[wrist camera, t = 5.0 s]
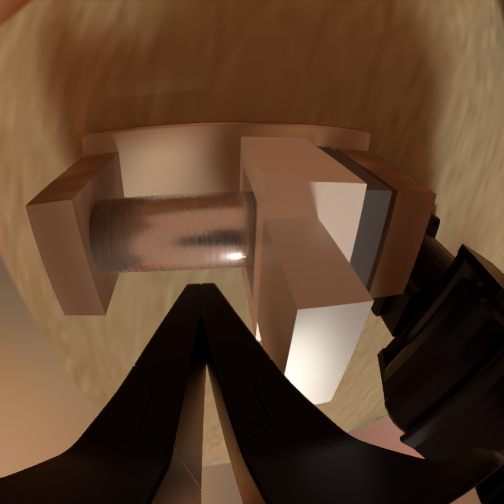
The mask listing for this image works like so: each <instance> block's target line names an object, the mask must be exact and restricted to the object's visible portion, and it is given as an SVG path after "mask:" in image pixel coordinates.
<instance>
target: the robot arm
mask: <svg viewBox="0 0 504 504" xmlns="http://www.w3.org/2000/svg"><path fill="white" fill-rule="evenodd" d="M433 222H434V223H433ZM439 224H440V219H439V218H438V217H437V216H435V215H430V218H429V222H428V225H427V228H426V231H425V235H424V238H423V241H422V244H421V247H420V250H419V252H418V255H417V258H416V261H415V264H414V266H413V269H412V272H411V274H410V277H409V280H408V282H407V285H406V287H405V290H404V292H403V294H399V295H392V296H385V297H378V298H373V300H374V302H373V305H372V307H371V310H372V312H373V313H374V314H375V315H376V316H381V318H382V320H383V321H384V323H385V325H386V326H387V328H388V330H389V331H390V333H391V335H392V336H393V337H394V339H393V340H392V341H391V342H390V343H389V344H388V345H387V347H386V348H383V349H382V350H381V351H380V352H379V353H378V361H379V367H380V373H381V379H382V385H383V392H384V399H385V402H384V403H385V408H386V410H387V412H388V415H389V417H390V418H391V420H392V421H393V423H394V424H395V425H396V426H397V427H398V428H399V429H400V430H402V431H403V432H404V433H405V434H403V435H402V436H400V441H401V442H402V443H404V444H406V445H408V446H410V447H411V448H414V449H415V450H416V451H417V452H418V453H420V454H421V455H422V456H423V457H424V458H425V459H422V458H418V457H414V456H410V455H406V454H402V453H399V452H395V451H392V450H388V449H385V448H382V447H378V446H375V445H372V444H369V443H366V442H363V441H360V440H358V439H356V438H354V437H352V436H351V435H349V434H348V433H346V432H345V431H343V430H342V429H341V428H340V427H338V426H337V425H336V424H335V423H334V422H333V421H332V420H330V419H329V418H328V417H327V416H326V415H325V414H324V413H323V412H322V411H320V410H319V409H318V408H317V407H316V406H315V405H314V404H313V403H312V402H311V401H309V400H308V399H307V398H306V397H305V396H304V395H303V394H302V393H301V392H300V391H299V390H298V389H297V388H296V387H295V386H294V385H293V384H292V383H291V382H290V381H289V379H288V378H287V377H286V376H285V375H284V374H283V372H282V371H281V370H280V369H279V368H278V366H277V365H276V364H275V363H274V361H273V360H272V359H270V356H269V355H268V354H267V352H266V351H265V350H264V349H263V347H262V346H261V345H260V343H259V342H258V341H257V339H256V338H255V337H254V336H253V334H252V333H251V332H250V330H249V329H248V328H247V326H246V325H245V324H244V322H243V321H242V320H241V318H240V317H239V316H238V314H237V313H236V312H235V310H234V309H233V308H232V306H231V305H230V303H229V302H228V301H227V299H226V298H225V297H224V295H223V294H222V293H221V291H220V290H219V288H218V287H217V286H216V284H215V283H202V284H188V285H186V287H185V288H184V290H183V291H182V293H181V294H180V296H179V297H178V299H177V300H176V302H175V303H174V305H173V306H172V308H171V309H170V311H169V312H168V314H167V315H166V317H165V318H164V320H163V321H162V323H161V324H160V326H159V327H158V329H157V330H156V332H155V333H154V335H153V337H152V338H151V340H150V341H149V343H148V344H147V346H146V347H145V349H144V350H143V352H142V354H141V355H140V357H139V358H138V360H137V361H136V363H135V366H133V367H132V369H131V371H130V372H129V374H128V375H127V377H126V378H125V380H124V381H123V383H122V384H121V386H120V387H119V389H118V390H117V392H116V393H115V394H114V396H113V397H112V398H111V399H110V401H109V402H108V403H107V405H106V406H105V407H104V408H103V410H102V411H101V412H100V413H99V415H98V416H97V417H96V418H95V419H94V421H93V422H92V423H91V424H90V426H89V427H88V428H87V429H86V431H85V432H84V433H83V434H82V436H81V437H80V438H79V439H78V440H77V442H76V443H75V444H73V445H72V446H71V447H70V448H69V449H68V450H66V451H65V452H63V453H62V454H60V455H58V456H56V457H53V458H51V459H49V460H46V461H44V462H42V463H39V464H37V465H34V466H32V467H29V468H27V469H24V470H22V471H19V472H16V473H14V474H11V475H8V476H6V477H2V478H0V504H201V478H202V475H201V474H202V443H203V418H204V397H205V379H206V362H207V367H208V372H209V377H210V381H211V385H212V390H213V394H214V398H215V403H216V407H217V411H218V415H219V419H220V423H221V427H222V431H223V435H224V439H225V443H226V446H227V450H228V454H229V457H230V461H231V464H232V468H233V471H234V475H235V478H236V482H237V485H238V487H239V492H240V495H241V498H242V502H243V504H504V274H503V273H502V272H501V271H500V270H499V269H498V268H497V267H496V266H495V265H494V264H493V263H491V262H490V261H488V260H487V259H485V258H484V257H482V256H481V255H479V254H478V253H476V252H475V251H473V250H472V249H470V248H469V247H467V246H466V245H464V244H462V245H461V247H460V248H459V250H458V254H457V256H456V257H454V256H453V255H452V254H451V253H450V252H449V251H448V250H447V249H446V248H445V247H444V246H442V245H441V244H440V243H439V242H438V241H437V240H436V239H435V237H436V234H437V231H438V227H439Z"/></svg>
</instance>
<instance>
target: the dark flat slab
mask: <svg viewBox="0 0 504 504" xmlns="http://www.w3.org/2000/svg"><path fill="white" fill-rule="evenodd" d="M317 147H318V148H320V149H321V150H322V151H324V152H325V153H327V154H328V155H329V156H331V157H332V158H334V159H335V160H336V161H338V162H339V163H340V164H342V165H343V166H344V167H346V168H347V169H348V170H350V171H351V172H352V173H354V174H355V175H356V176H358V177H359V178H360V179H361V180H363V181H364V182H365V183H366V184H367V186H366V191H365V197H364V202H363V207H362V211H361V216H360V221H359V225H358V230H357V234H356V239H355V243H354V247H353V251H352V255H351V259H350V265H351V266H352V268H353V269H354V271H355V272H356V274H357V275H358V277H359V278H360V280H361V281H362V283H363V284H364V286H365V287H366V286H367V283H368V280H369V277H370V273H371V270H372V267H373V263H374V260H375V257H376V253H377V250H378V246H379V243H380V239H381V235H382V231H383V228H384V224H385V220H386V216H387V212H388V208H389V203H390V199H391V195H392V191H391V190H390V189H389V188H388V187H386V186H385V185H384V184H382V183H381V182H380V181H378V180H377V179H375V178H374V177H373V176H371V175H370V174H368V173H367V172H366V171H364V170H363V169H361V168H360V167H359V166H357V165H356V164H354V163H353V162H351V161H350V160H348V159H347V158H345V157H344V156H342V155H341V154H339V153H338V152H336V151H335V150H333V149H332V148H330V147H320V146H317Z"/></svg>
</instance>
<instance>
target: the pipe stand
mask: <svg viewBox="0 0 504 504" xmlns="http://www.w3.org/2000/svg"><path fill="white" fill-rule="evenodd" d="M370 136H371V134H370V133H367V132H365V131H363V130H356V129H347V128H338V127H328V126H317V125H304V124H287V123H259V122H216V123H189V124H172V125H159V126H148V127H138V128H129V129H120V130H113V131H106V132H99V133H92V134H88V135H86V136H84V137H82V138H81V140H82V149H83V158H81V159H80V160H79V161H77V162H76V163H75V164H73V165H72V166H71V167H70V168H68V169H67V170H66V171H65V172H63V173H62V174H61V175H60V176H59V177H57V178H56V179H55V180H54V181H53V182H51V183H50V184H49V185H48V186H47V187H46V188H45V189H43V190H42V191H41V192H40V193H39V194H38V195H37V196H36V197H34V198H33V199H32V200H31V201H30V202H29V203H28V204H27V205H26V210H27V213H28V217H29V220H30V224H31V227H32V231H33V234H34V237H35V240H36V243H37V246H38V249H39V252H40V255H41V258H42V261H43V263H44V266H45V269H46V272H47V274H48V277H49V279H50V282H51V284H52V287H53V289H54V292H55V294H56V296H57V299H58V301H59V303H60V306H61V308H62V310H63V312H64V314H65V315H106V312H107V309H108V306H109V303H110V299H111V296H112V293H113V290H114V287H115V284H116V281H117V278H118V275H119V273H125V272H151V271H175V270H197V269H219V268H239V267H254V264H255V244H256V223H257V201H256V198H255V195H254V193H253V191H240V151H241V137H289V138H305V139H307V140H308V141H309V142H311V143H312V144H314V145H315V146H320V147H330V148H332V149H333V150H335V151H336V152H338V153H339V154H341V155H342V156H344V157H345V158H347V159H348V160H350V161H351V162H353V163H354V164H356V165H357V166H359V167H360V168H361V169H363V170H364V171H366V172H367V173H368V174H370V175H371V176H373V177H374V178H375V179H377V180H378V181H380V182H381V183H382V184H384V185H385V186H386V187H388V188H389V189H390V190H391V191H392V195H391V199H390V203H389V208H388V212H387V216H386V220H385V224H384V228H383V231H382V235H381V239H380V243H379V246H378V250H377V253H376V257H375V260H374V263H373V267H372V270H371V273H370V277H369V280H368V283H367V286H366V289H367V291H368V292H369V294H370V295H371V297H372V298H378V297H385V296H392V295H399V294H403V292H404V290H405V287H406V285H407V282H408V280H409V277H410V274H411V272H412V269H413V266H414V264H415V261H416V258H417V255H418V252H419V250H420V247H421V244H422V241H423V238H424V235H425V231H426V228H427V225H428V222H429V218H430V215H431V212H432V208H433V205H434V201H435V197H436V194H435V193H434V192H433V191H431V190H430V189H428V188H427V187H425V186H424V185H422V184H421V183H419V182H418V181H416V180H415V179H413V178H412V177H410V176H408V175H407V174H405V173H404V172H402V171H401V170H399V169H397V168H396V167H394V166H392V165H391V164H389V163H388V162H386V161H384V160H382V159H381V158H379V157H377V156H376V155H374V154H372V153H370V152H369V151H368V150H369V143H370Z"/></svg>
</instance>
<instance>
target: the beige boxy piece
mask: <svg viewBox="0 0 504 504" xmlns="http://www.w3.org/2000/svg"><path fill="white" fill-rule="evenodd" d="M366 186H367V184H366V183H365V182H364V181H363V180H361V179H360V178H359V177H358V176H356V175H355V174H354V173H352V172H351V171H350V170H348V169H347V168H346V167H344V166H343V165H342V164H340V163H339V162H338V161H336V160H335V159H334V158H332V157H331V156H329V155H328V154H327V153H325V152H324V151H322V150H321V149H320V148H318V147H317V146H315V145H314V144H312V143H311V142H309V141H308V140H307V139H305V138H289V137H241V151H240V191H253V193H254V195H255V198H256V201H257V223H256V244H255V264H254V267H241V268H242V273H243V278H244V284H245V289H246V294H247V299H248V304H249V310H250V315H251V320H252V325H253V330H254V335H255V338H256V339H257V341H261V342H262V347H263V349H264V350H265V351H266V352H267V354H268V355H269V356H270V359H272V360H273V361H274V363H275V364H276V365H277V366H278V368H279V369H280V370H281V371H282V372H283V374H284V375H285V376H286V377H287V378H288V379H289V381H290V382H291V383H292V384H293V385H294V386H295V387H296V388H297V389H298V390H299V391H300V392H301V393H302V394H303V395H304V396H305V397H306V398H307V399H308V400H309V401H311V402H312V403H313V404H314V405H315V404H320V403H325V402H330V401H331V399H332V397H333V395H334V393H335V391H336V389H337V387H338V385H339V383H340V381H341V378H342V376H343V374H344V372H345V370H346V368H347V365H348V363H349V361H350V359H351V356H352V354H353V352H354V350H355V347H356V345H357V343H358V340H359V338H360V335H361V333H362V330H363V328H364V325H365V323H366V320H367V318H368V315H369V313H370V310H371V307H372V305H373V302H374V300H373V298H372V297H371V295H370V294H369V292H368V291H367V289H366V287H365V286H364V284H363V283H362V281H361V280H360V278H359V277H358V275H357V274H356V272H355V271H354V269H353V268H352V266H351V265H350V259H351V255H352V251H353V247H354V243H355V239H356V234H357V230H358V225H359V221H360V216H361V211H362V207H363V202H364V197H365V191H366Z"/></svg>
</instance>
